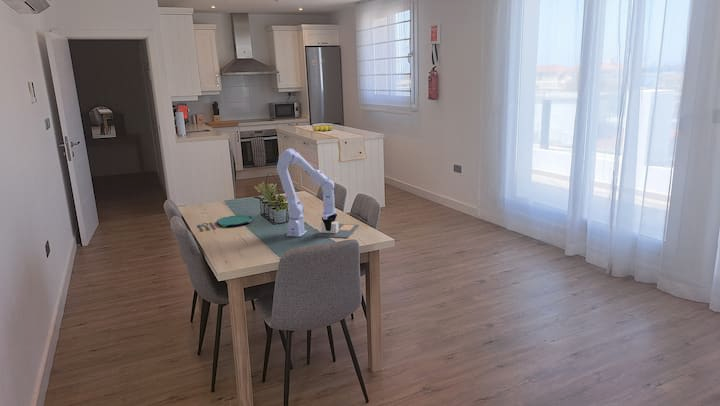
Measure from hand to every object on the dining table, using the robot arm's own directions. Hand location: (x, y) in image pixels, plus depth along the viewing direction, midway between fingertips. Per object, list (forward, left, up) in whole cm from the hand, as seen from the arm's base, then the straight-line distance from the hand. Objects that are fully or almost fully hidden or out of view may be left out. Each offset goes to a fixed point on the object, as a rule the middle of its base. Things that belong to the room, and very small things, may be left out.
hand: (329, 229), depth 255 cm
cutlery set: (+6, +64, -3) cm, 64 cm away
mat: (+5, -3, -2) cm, 6 cm away
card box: (0, 0, -1) cm, 1 cm away
